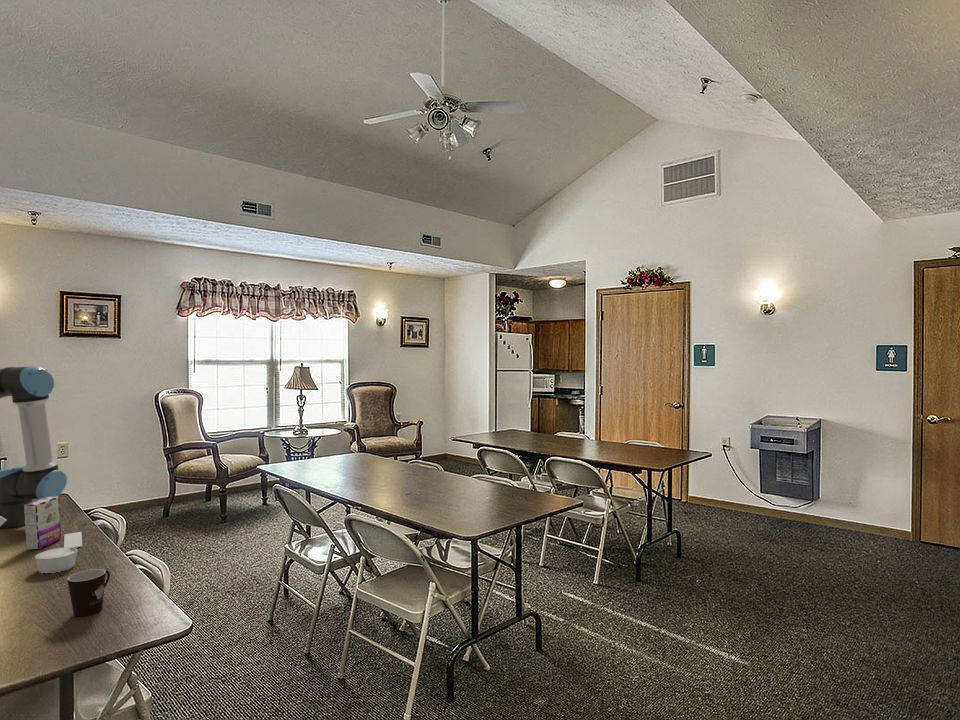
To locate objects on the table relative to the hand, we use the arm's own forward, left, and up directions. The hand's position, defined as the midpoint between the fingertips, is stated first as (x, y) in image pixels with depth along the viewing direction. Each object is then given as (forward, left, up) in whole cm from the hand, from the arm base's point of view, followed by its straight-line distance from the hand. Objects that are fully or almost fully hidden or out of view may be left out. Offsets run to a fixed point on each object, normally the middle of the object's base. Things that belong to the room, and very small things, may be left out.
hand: (3, 523), depth 208 cm
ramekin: (+32, +16, -10) cm, 37 cm away
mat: (+2, +20, -10) cm, 23 cm away
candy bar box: (0, +11, -10) cm, 15 cm away
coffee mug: (+76, +25, -10) cm, 81 cm away
